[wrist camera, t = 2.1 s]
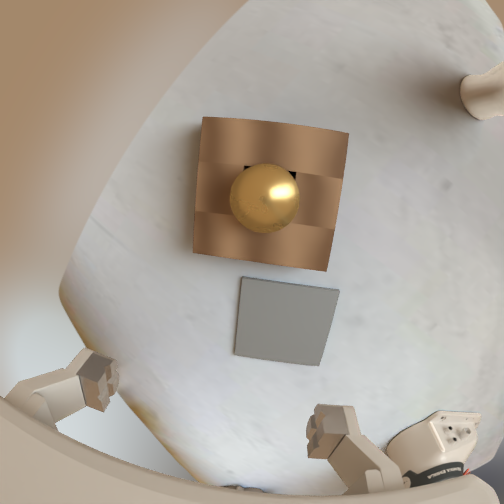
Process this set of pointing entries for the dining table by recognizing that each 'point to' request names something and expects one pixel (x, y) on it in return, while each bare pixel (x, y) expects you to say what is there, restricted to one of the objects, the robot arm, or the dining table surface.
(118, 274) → the dining table surface
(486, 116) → the beer glass
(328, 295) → the rubber mat
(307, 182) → the walnut block
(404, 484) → the robot arm
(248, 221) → the brass knob
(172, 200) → the dining table surface
